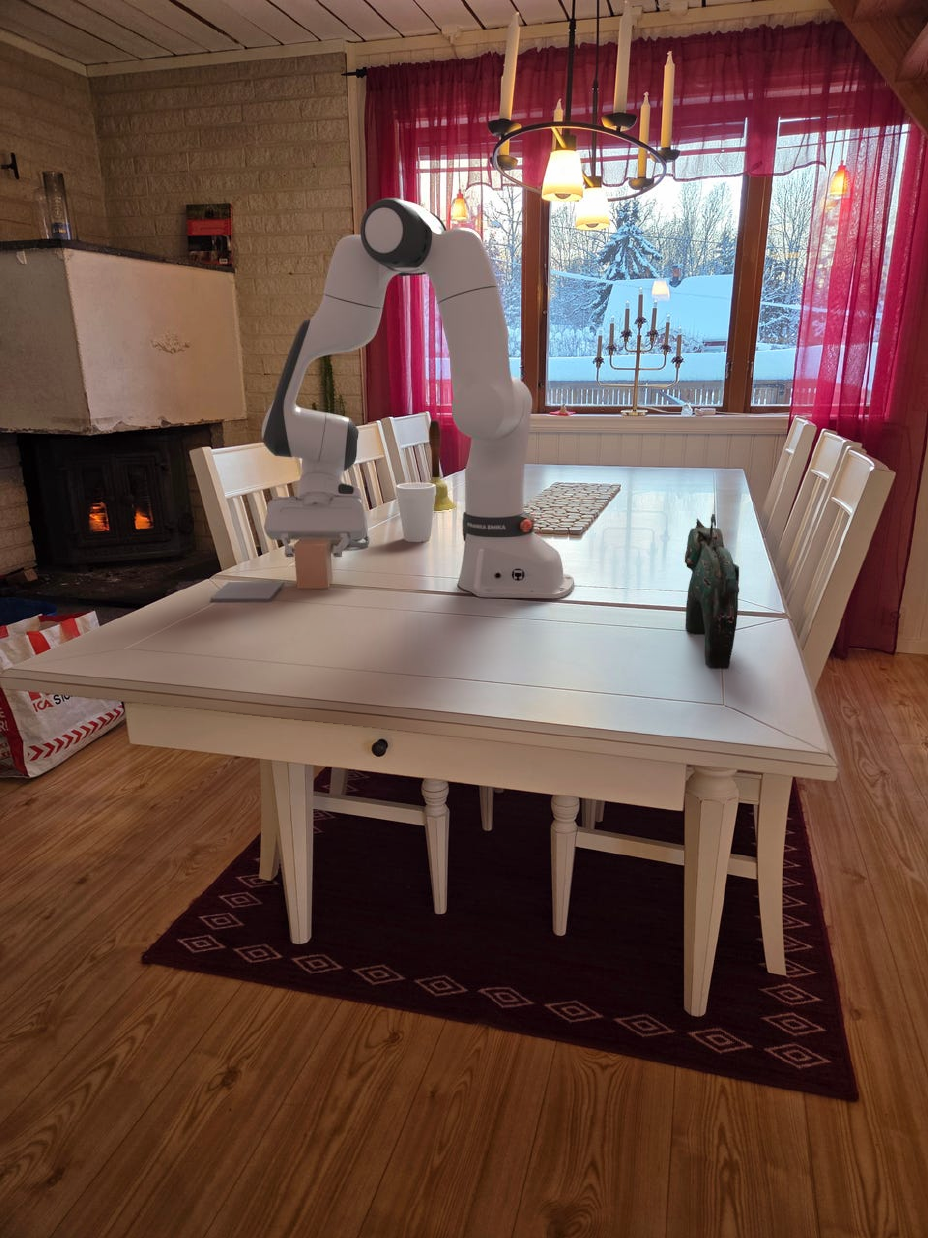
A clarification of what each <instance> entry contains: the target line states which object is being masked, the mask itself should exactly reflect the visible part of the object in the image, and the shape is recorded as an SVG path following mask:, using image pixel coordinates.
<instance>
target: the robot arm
mask: <svg viewBox="0 0 928 1238" xmlns="http://www.w3.org/2000/svg"><path fill="white" fill-rule="evenodd" d="M359 231H360V233H359V234H350V235H346V236H344V237H342V238H340V239H339V241H338V242H337V244H336V246H335V249H334V251H333V254H332V257H331V259H330V260H331V261H330V264H329V267H328V271H327V275H326V279H325V283H324V289H323V295H322V300H321V301H320V302H321V303H320V305H319V307H318V309H317V311H316V312H315V314H314V315H313V316H312V317H311V318H307V319H305V320H304V319H303V321H302V322H301V324H300V325H299V327H298V329H297V331H296V334H295V336H294V339H293V342H292V344H291V347H290V349H289V352H288V355H287V357H286V360H285V363H284V367H283V370H282V373H281V376H280V380H279V381H278V382H279V383H278V384H277V388H276V391H275V396H274V398H273V400H272V403H271V405H270V406H269V408H268V410H267V412H266V414H265V417H264V419H263V422H262V426H261V439H262V440H261V443H263V445H264V446H265V448H266V449H268V451H269V452H271V454H272V455H274V456H275V457H281V458H290V459H291V458H295V459H296V458H297V459H300V460H301V470H302V473H301V475H300V478H299V482H298V489H297V495H296V496H277V497H275V498H273V499H271V500H269V501H268V503H267V507H266V513H267V514H266V517H265V519H264V525H263V530H264V533H265V534H266V537H268V539H270V540H274V541H276V540H279V541H281V542H282V544H283V545H284V556H285V557H286V558H295V556H294V545H289V544H291V540H299V539H341V541H340V543H339V544H338V546H332V548H333V550H332V555H333V557H334V558H342V557H343V551H344V550H345V548H347V546H348V544H349V539H362V540H365V539H364V538H365V537H366V536H367V535H368V533H369V530H368V529H369V527H368V518H367V512H366V509H365V503H364V498H363V494H362V491H361V490H360V489H361V488H360V487H359V486H355V485H351V484H348V483H345V482H343V480H342V479H343V475H344V474H345V472H346V471H347V470H349V469H350V468H351V467H352V466H353V465H354V464H355V462H356V460H357V454H358V439H359V429H358V427H357V425H356V424H355V422H354V421H353V420H352V419H351V418H350V417H348V416H345V415H344V416H343V415H341V414H340V415H339V414H334V413H331V412H324V411H319V410H314V409H309V408H304V407H300V406H299V405H297V404H296V401H297V399H298V394H299V393H300V392H299V391H300V389H301V386H302V383H303V380H304V377H305V374H306V372H307V369H308V367H309V365H310V364H311V363H313V361H315V360H317V359H319V358H322V357H324V356H329V355H333V354H334V355H335V354H340V353H341V354H343V353H347V352H353V351H356V350H358V349H360V348H363V347H364V346H366V345H367V344H369V343H370V342H371V341H372V340H373V339H374V338H375V336H376V335H377V332H378V328H379V325H380V323H381V318H382V313H383V310H384V309H383V308H384V304H385V297H386V291H387V287H388V285H389V283H390V281H391V280H392V279H393V277H395V276H397V275H398V276H399V277H407V276H422V275H427V276H428V278H429V280H430V283H431V285H432V287H433V291H434V296H435V298H436V304H437V309H438V312H439V317H440V320H441V324H442V328H443V333H444V336H445V340H446V341H445V342H446V343H447V350H448V351H447V352H448V356H449V367H450V380H451V390H452V402H451V416H452V419H453V422H454V423H453V424H454V425H455V426H456V428H457V429H458V430H459V431H460V432H461V434H463V435H465V436H466V437H468V438H470V448H469V454H468V459H467V463H466V466H465V470H464V502H465V504H464V506H465V507H464V508H465V511H464V512H463V514H462V537H463V539H462V540H463V542H464V545H463V546H464V548H463V556H462V564H461V569H460V575H459V576H458V577H459V578H458V581H457V585H458V586H459V588H461V589H463V590H465V591H467V592H471V593H473V595H475V596H477V597H479V598H505V599H506V598H507V599H508V598H509V599H510V598H511V599H512V598H513V599H514V598H515V599H516V598H517V599H520V598H522V599H559V598H563V597H565V596H567V595H568V594H570V593H571V592H572V591H573V590H574V587H575V579H574V578H573V576H571V575H570V574H565V573H564V568H563V561H562V558H561V555H560V553H559V551H558V550H557V549H555V548H554V547H553V546H551V545H550V544H549V543H548V542H546V541H545V539H542V537H540V536H539V535H538V534H537V533H535V532H534V529H535V515H534V514H533V515H531V514H529V513H527V512H526V511H524V507H525V506H524V502H525V501H524V498H525V492H524V491H525V467H526V466H525V465H526V458H527V453H528V452H527V450H528V444H529V435H530V425H531V415H532V411H533V410H532V409H533V397H532V394H531V391H530V390H529V388H528V386H527V385H526V384H525V383H524V382H523V381H522V380H521V379H520V378H518V377H516V376H514V375H512V371H511V365H510V364H511V363H510V353H509V352H510V351H509V337H510V335H509V329H508V324H507V320H506V317H505V313H504V308H503V303H502V299H501V295H500V290H499V285H498V281H497V279H496V278H497V277H496V274H495V270H494V268H493V267H494V266H493V265H492V261H491V258H490V256H489V253H488V251H487V249H486V247H485V244H484V241H483V240H482V238H481V236H480V235H479V234H478V233H477V232H476V231H475V230H473V229H470V228H467V227H454V228H450V229H448V228H447V226H446V225H445V223H444V222H443V220H441V218H440V217H439V216H438V215H436V214H435V213H432V212H431V211H428V210H427V209H425V208H424V207H422V206H421V205H419V204H417V203H414V202H412V201H407V200H403V199H401V198H398V197H386V198H382V199H379V200H377V201H376V202H374V203H373V204H371V205H370V206H369V207H368V208H367V210H366V211H365V212H364V214H363V216H362V219H361V221H360V230H359Z"/></svg>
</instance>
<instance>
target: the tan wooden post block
mask: <svg viewBox="0 0 928 1238" xmlns="http://www.w3.org/2000/svg"><path fill="white" fill-rule="evenodd" d="M293 548H294V565H295V566H294V568H295V579H296V589H298V590H299V589H300V590H302V589H303V590H304V589H305V590H309V589H311V590H315V589H316V590H317V589H319V590H320V589H321V590H324V589H326V590H327V589H330V586H331V585H332V583H333V582H334V581H333V579H334V578H333V567H332V566H333V565H332V550H331V545H330V539H299V540H298V541H296V542H295V543H294V545H293ZM332 581H333V582H332ZM330 584H331V585H330Z"/></svg>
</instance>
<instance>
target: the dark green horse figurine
mask: <svg viewBox="0 0 928 1238" xmlns="http://www.w3.org/2000/svg"><path fill="white" fill-rule="evenodd" d="M716 520H717V519H716V514H713V513H711V517H710V527H706V526H704V524H703V523H702V522H701V521H700V519H699V518H696V526H695V528H691V529H690V531H689V533H688V537H687V543H686V551H685V554H684V563H685V565H686V567H687V569H689V570H690V571H691V576H690V580H689V583H688V589H687V599H686V605H685V606H686V607H685V630H686V632H687V633H688V634H690V635H698V636H699V635H704V660H705V661H704V662H705V665H706V666H707V667H708V668H710V669H729V667H730V664H731V655H732V652H733V648H734V641H735V634H736V629H737V622H738V615H739V614H738V611H739V610H738V609H739V593H740V587H739V581H740V566H739V565H738V564H735V563H734V560H733V557H732V555H731V553H730V551H729V550H728V549H727V548H725V545H724V537H723V533H722V530H721V529H720V528H717V527H716V526H717V521H716ZM713 524H714V525H713ZM714 526H715V527H714Z"/></svg>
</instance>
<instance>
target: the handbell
mask: <svg viewBox="0 0 928 1238" xmlns="http://www.w3.org/2000/svg"><path fill="white" fill-rule="evenodd" d="M440 427H441V426H440V422H439V420H438V419H431V420H430V423H429V430H428V443H429V446H430V450H431V452H430V453H431V479H430V481H428V482H427V483H431V484H435V485H436V495H435V502H434V511H442V510H449V509H453V508H455V507H456V506H457V504H455V503H454V502H453V501H452V500H451V499H450V497H449V496H448V495H449V494H448V492H449V491H448V490H449V489H448V485H447V484H446V483H445V482H444V481H443V480H442V479H441V477H440V448H441V443H442V436H441V433H442V432H441V428H440Z"/></svg>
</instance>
